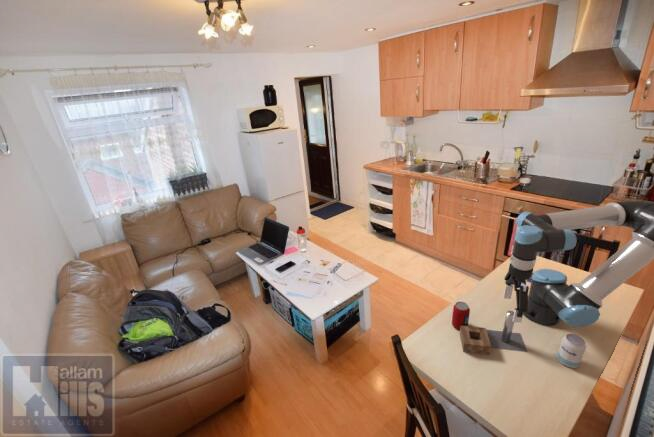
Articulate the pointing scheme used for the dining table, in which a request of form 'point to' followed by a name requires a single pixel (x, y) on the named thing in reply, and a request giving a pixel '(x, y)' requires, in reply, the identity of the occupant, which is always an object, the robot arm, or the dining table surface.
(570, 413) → the dining table surface
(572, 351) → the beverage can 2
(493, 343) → the mat
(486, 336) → the walnut socket block
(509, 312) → the steel pin
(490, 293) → the dining table surface
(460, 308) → the beverage can
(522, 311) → the robot arm
